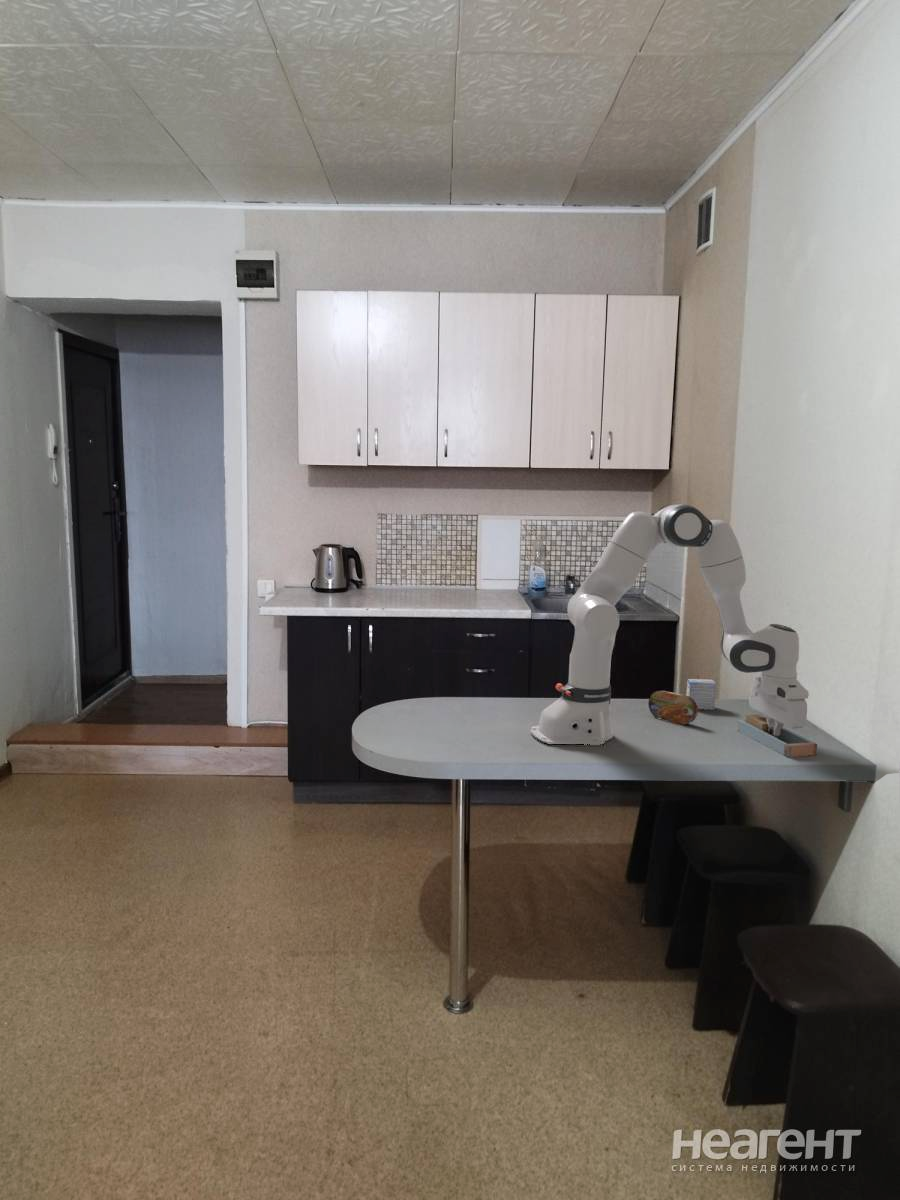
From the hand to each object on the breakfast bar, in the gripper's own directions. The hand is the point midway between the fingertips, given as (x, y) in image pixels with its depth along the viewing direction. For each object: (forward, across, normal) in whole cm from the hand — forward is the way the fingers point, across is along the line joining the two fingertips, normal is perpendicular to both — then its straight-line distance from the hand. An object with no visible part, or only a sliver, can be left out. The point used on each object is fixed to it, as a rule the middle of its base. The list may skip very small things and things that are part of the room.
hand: (774, 734), depth 220 cm
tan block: (+2, -6, 0) cm, 6 cm away
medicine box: (+2, -32, -3) cm, 33 cm away
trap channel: (+2, +1, 0) cm, 2 cm away
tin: (+2, -22, -18) cm, 29 cm away
